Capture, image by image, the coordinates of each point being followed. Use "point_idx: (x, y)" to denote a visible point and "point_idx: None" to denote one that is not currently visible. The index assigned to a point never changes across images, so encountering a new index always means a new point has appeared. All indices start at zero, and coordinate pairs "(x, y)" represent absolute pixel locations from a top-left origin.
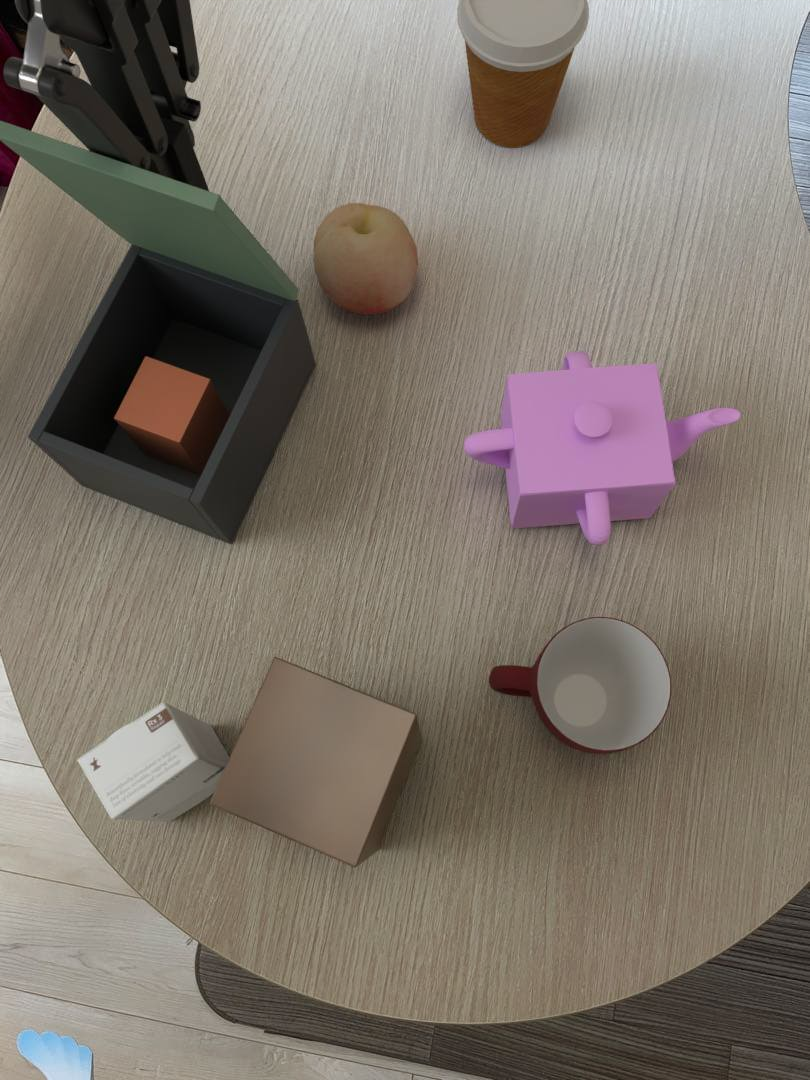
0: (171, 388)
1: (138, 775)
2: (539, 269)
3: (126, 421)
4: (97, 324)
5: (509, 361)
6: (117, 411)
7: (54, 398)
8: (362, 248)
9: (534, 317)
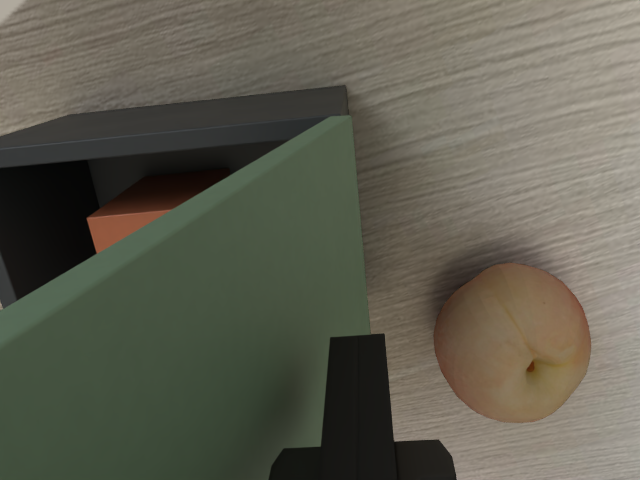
0: None
1: None
2: (586, 454)
3: (94, 236)
4: (169, 146)
5: (461, 465)
6: (97, 217)
7: (23, 156)
8: (499, 398)
9: (523, 469)
